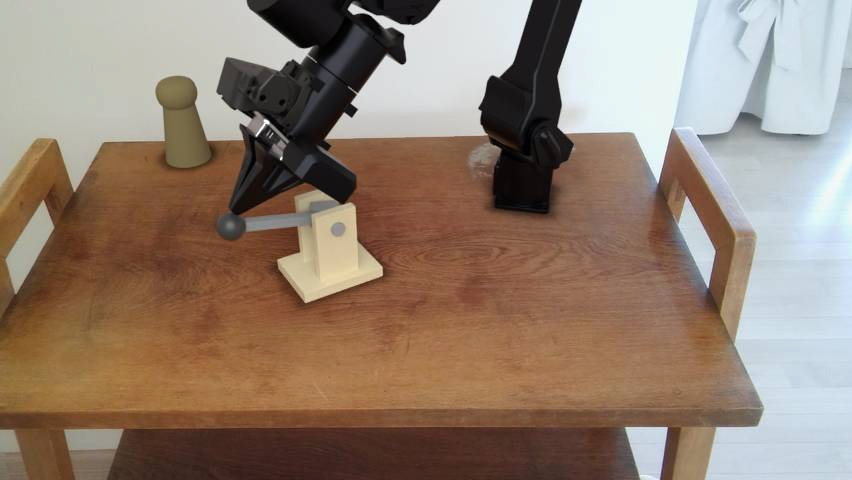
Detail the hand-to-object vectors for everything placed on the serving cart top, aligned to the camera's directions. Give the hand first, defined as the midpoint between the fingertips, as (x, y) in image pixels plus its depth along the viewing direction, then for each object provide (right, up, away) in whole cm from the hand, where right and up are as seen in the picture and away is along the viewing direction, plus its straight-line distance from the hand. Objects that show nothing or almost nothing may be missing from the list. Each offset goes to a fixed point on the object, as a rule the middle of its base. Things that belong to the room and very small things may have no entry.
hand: (233, 211), depth 72 cm
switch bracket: (+8, -6, +10) cm, 14 cm away
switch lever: (+4, -2, +4) cm, 6 cm away
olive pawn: (-12, +10, +32) cm, 35 cm away
